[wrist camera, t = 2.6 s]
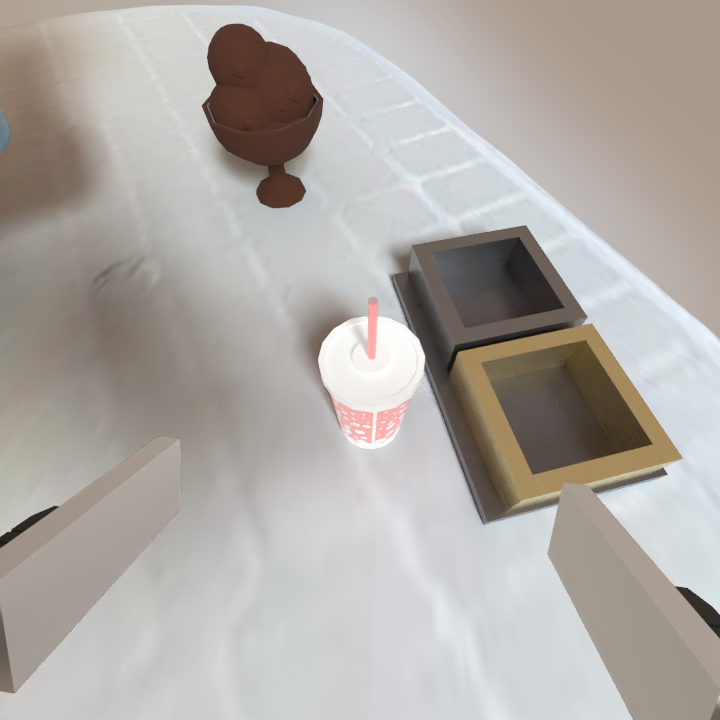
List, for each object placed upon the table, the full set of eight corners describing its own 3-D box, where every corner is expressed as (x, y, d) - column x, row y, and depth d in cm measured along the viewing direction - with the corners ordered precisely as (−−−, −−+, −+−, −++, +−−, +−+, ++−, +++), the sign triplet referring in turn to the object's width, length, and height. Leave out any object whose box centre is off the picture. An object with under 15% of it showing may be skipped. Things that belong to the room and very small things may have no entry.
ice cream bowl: (247, 236, 41) (194, 70, 28) (223, 176, 47) (169, 13, 34) (343, 209, 43) (334, 43, 30) (309, 154, 49) (289, -6, 36)
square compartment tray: (393, 282, 38) (396, 245, 34) (521, 258, 39) (537, 220, 35) (483, 524, 26) (503, 511, 23) (658, 478, 28) (705, 458, 24)
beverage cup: (406, 383, 32) (430, 252, 20) (414, 457, 29) (448, 354, 17) (330, 385, 32) (309, 255, 20) (329, 460, 29) (304, 359, 17)
